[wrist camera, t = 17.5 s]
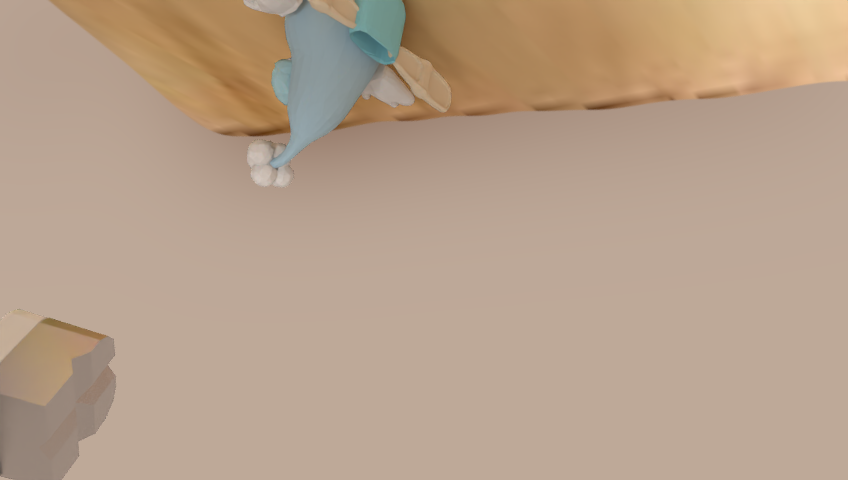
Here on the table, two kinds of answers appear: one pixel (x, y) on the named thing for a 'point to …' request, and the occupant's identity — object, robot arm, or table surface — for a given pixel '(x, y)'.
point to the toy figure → (338, 72)
